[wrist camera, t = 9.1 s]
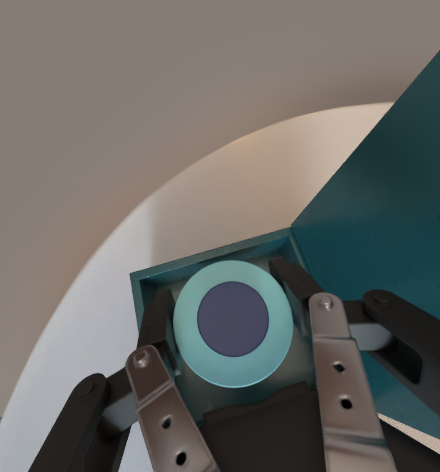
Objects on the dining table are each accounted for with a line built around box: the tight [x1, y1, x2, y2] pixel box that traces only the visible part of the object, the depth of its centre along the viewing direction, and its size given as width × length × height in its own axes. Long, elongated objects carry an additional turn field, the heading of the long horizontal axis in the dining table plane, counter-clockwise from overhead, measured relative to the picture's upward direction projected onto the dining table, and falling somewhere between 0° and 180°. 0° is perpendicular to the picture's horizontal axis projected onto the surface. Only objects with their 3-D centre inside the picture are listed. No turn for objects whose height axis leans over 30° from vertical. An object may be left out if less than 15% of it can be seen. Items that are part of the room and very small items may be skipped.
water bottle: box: [173, 260, 293, 388], centre depth 14 cm, size 6×6×11 cm
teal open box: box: [130, 227, 317, 427], centre depth 22 cm, size 16×15×6 cm
